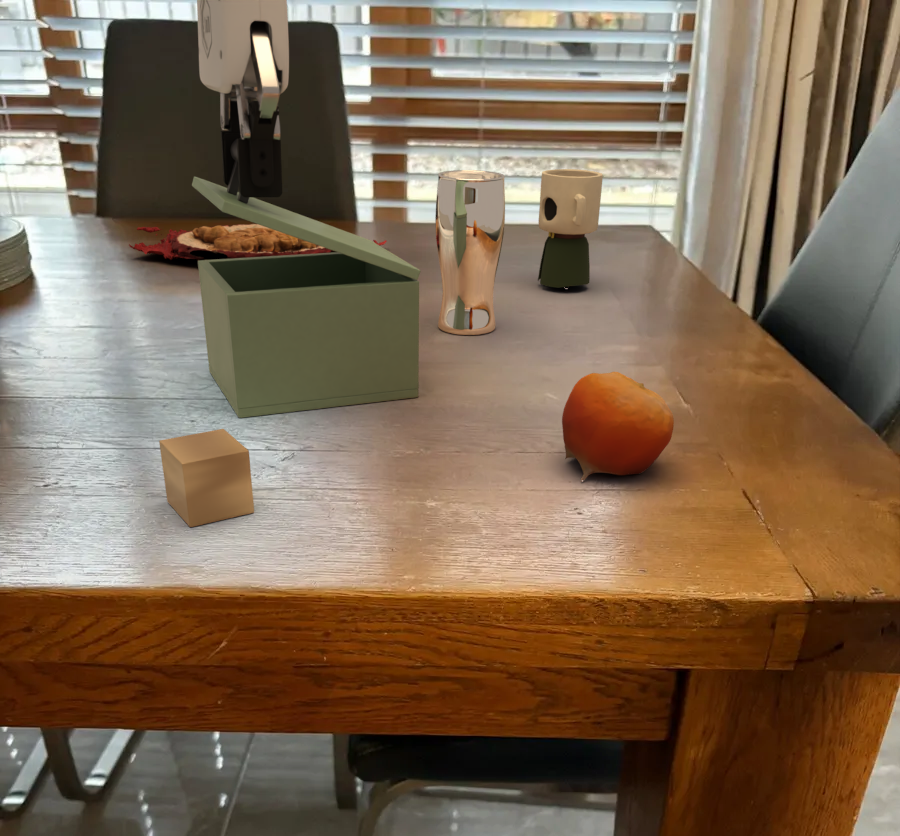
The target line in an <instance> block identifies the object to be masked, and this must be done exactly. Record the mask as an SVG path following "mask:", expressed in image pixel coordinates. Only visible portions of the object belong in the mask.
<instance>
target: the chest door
mask: <svg viewBox="0 0 900 836" xmlns="http://www.w3.org/2000/svg"><path fill="white" fill-rule="evenodd" d="M239 139H242V138H239ZM230 151H231V155H232V157H233V159H234V160H235V162H234V166H233V170H232V173H231V177H230V181H229V185H228V186H227V187H225V186H222V185H220V184H218V183H214V182H211V181H209V180H206V179H204V178H200V177H198V176H195V175H194V176H193V179H192V183H191V186H192V188H194V189H195V190H196V191H197V192H198V193H200V194H201V195H202V196H203V197H205V198H206V199H207V200H209V202H210V203H212V204H213V205H214V206H215V207H216V208H217V209H219V210H220V211H221V212H222V213H225V214H227V215H230V216H233V217H235V218H239V219H242V220H245V221H248V222H251V223H252V224H259V225H262V226H264V227H267V228H270V229H273V230H276V231H279V232H282V233H284V234H287V235H290V236H293V237H296V238H299V239H302V240H304V241H307V242H310V243H313V244H316V245H319V246H321V247H324V248H327V249H330V250H333V251H336V252H339V253H341V254H344V255H347V256H350V257H353V258H356V259H359V260H361V261H364V262H367V263H370V264H373V265H376V266H378V267H381V268H384V269H387V270H390V271H393V272H396V273H398V274H401V275H404V276H407V277H410V278H413V279H416V280H418V281H419V277H420V275H421V269H419V268H418V267H416V266H414V265H412V264H411V263H410V262H407V261H406V260H404V259H403V258H401V257H400V256H397V255H396V254H394V253H392V252H391V251H389V250H388V249H386V248H384V246H382V245H380V246H379V245H378V244H376V243H374V241H373V240H370V239H368V238H366V237H363V236H359V235H357V234H354V233H351V232H349V231H346V230H343V229H341V228H339V227H335V226H333V225H329V224H327V223H324V222H321V221H318V220H316V219H313V218H311V217H307V216H305V215H303V214H299V213H297V212H293V211H291V210H288V209H286V208H283V207H280V206H277V205H275V204H271V203H269V202H266V201H263V200H261V199H258V198H257V197H243V196H242V195H241V194H240V192H239V176H238V157H237V139H236V140H235V141H234V142H233V143H232V145H231V149H230Z"/></svg>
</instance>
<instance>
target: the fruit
mask: <svg viewBox="0 0 900 836" xmlns="http://www.w3.org/2000/svg"><path fill="white" fill-rule="evenodd" d="M561 416H562V417H561V425H562V426H561V427H562V439H563V443H564V450H565V459H564V460H566V459H570V458H572V459H576V460H577V462H578V464H579V465H580V468H581V471H582V473H583V475H582V476H581V478H580V480H584V481H585V480H586V479H587V478H588V476H590V475H592V474H596V473H597V474H598V473H604V474H610V475H611V474H612V475H616V476H629V475H640V474H639V473H641V474H642V473H644V472H645V471H647V470H648V469H649V468H650V467H651V466H652V465H653V464H654V463H655V461H656V460H657V459H658V458H659V457H660V455H661V454H662V452H663V451H664V450H665V449H666V447H668V445H669V443H670V442H671V440H672V437H673V432H674V426H675V420H674V414H673V412H672V411H671V409H670V408H669V406H668V404H667V403H666V400H665V399H664V398H663V396H661V395H660V394H659V393H657V392H655V391H654V390H651V389H649V388H646V387H645V385H644V383H642V382H638V381H636V380H634V379H633V378H631V377H628V376H627V375H625V374H623V373H621V372H619V371H611V372H606V373H605V372H604V373H600V372H599V373H598V372H592V373H589V374H586V375H584V376H583V377H581V378H580V379H578V381H576V383H575V384H574V386H573V388H572V389H571V391H570V393H569V395H568V398H567V400H566V401H565V404H564V408H563V411H562V415H561Z"/></svg>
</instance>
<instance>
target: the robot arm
mask: <svg viewBox="0 0 900 836" xmlns="http://www.w3.org/2000/svg"><path fill="white" fill-rule="evenodd" d="M196 7H197V8H196V9H197V11H196V12H197V14H196V15H197V38H198V39H197V40H198V41H197V42H198V71H199V73H198V74H199V79H200V82H201V83H202V84H203V85H204V86H205V87H206V88H207V89H209V90H211V91H214V92H218V93H219V95H220V97H219V98H220V101H219V102H220V103H219V104H220V106H219V107H220V109H219V110H220V111H219V112H220V113H219V115H220V127H221V130H220V131H219V132H220V146H221V147H220V148H221V163H222V180H223V183H224V185H226V186H227V187H228V185H229V181H230V177H231V173H232V170H233V166H234V162H235V160H234V159H233V157H232V155H231V151H230V149H231V145H232V143H233V142H234V141H235V140H236V139H237V157H238V176H239V189H238V192H240V194H241V195H242V196H243V197H253V198H280V197H281V196H282V195H283V169H282V168H283V165H282V141H281V121H280V111H279V109H280V107H279V101H280V97H281V96H280V95H281V94H283V93H284V92H285V91H286V89H288V86H289V76H290V43H289V42H290V41H289V40H290V39H289V20H288V19H289V17H288V2H287V0H196ZM239 138H242V139H239Z"/></svg>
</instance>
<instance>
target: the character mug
mask: <svg viewBox="0 0 900 836" xmlns="http://www.w3.org/2000/svg"><path fill="white" fill-rule="evenodd" d="M603 176H604V175H603V173H602V172H599V171H595V170H589V169H578V168H558V169H557V168H556V169H555V168H554V169H547V170H543V171H542V172H541V177H540V179H541V180H540V193H539V194H540V195H539V209H538V228H539V229H540V230H542V231H544V232H548V235H547V238H546V240H545V241H544V245H543V250H542V253H541V260H540V264H539V269H538V276H537V281H539V284H540V285H543V286H546V287H550V288H564V287H565V288H568V287H569V288H570V287H576V286H586V285H589V284H590V277H591V276H590V274H591V273H590V269H591V267H590V244H589V240H588V238H587V237H586V235H588V234H591V233H594V232H597V231H598V229H599V221H600V220H599V219H600V210H601V209H600V208H601V199H602V189H603V179H604V177H603ZM569 288H568V289H569Z"/></svg>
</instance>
